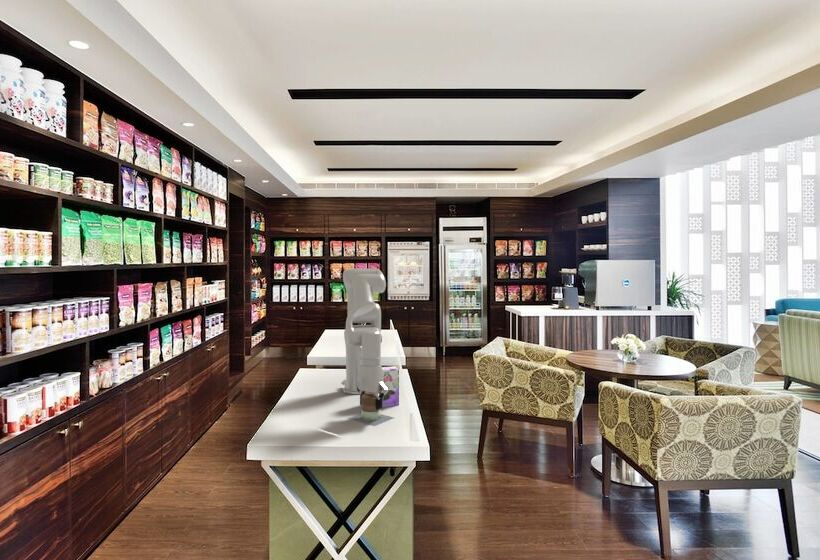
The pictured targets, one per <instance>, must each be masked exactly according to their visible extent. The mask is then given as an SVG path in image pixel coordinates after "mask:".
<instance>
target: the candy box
mask: <svg viewBox="0 0 820 560" xmlns="http://www.w3.org/2000/svg"><path fill="white" fill-rule="evenodd" d="M382 371H383V381H384V385H385V386H386V387H387V389H388V392H387V393H386V395H385V396H384V398H382V408H384V407H393V406H399V405H400V369H399V367H397V366H384V367H383V366H382ZM382 392H383V391H382Z"/></svg>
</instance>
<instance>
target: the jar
mask: <svg viewBox="0 0 820 560" xmlns="http://www.w3.org/2000/svg"><path fill="white" fill-rule="evenodd" d="M360 409H361V408H360ZM360 411H361V413H360V414H361V419H362V420H364V421H377V420H380V419H381V414H382V409H381V410H379V411H377V412H365V411H363V410H362V409H361V410H360Z"/></svg>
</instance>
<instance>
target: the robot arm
mask: <svg viewBox="0 0 820 560" xmlns="http://www.w3.org/2000/svg"><path fill="white" fill-rule="evenodd" d="M342 280H343V284H344V287H345V291H346V293H347V308H346V309H347V317H346V319H345V320H346V321H345V328H344V331H343V336H344V344H345V368H346V369H345V379H343V380H342V381H341V383H340V384H341V385H343V386H344V387H343V388H342V392H343V393H345V394H348V395H359V405H360V406H361V396H362V394H363V393H366V392H370V393H375V395H376V397H377V399H376V409H377V410H378V409H381V410H382V408H383V407H382V398H384V396H385V395H386V393H387V392H388V389H387V387H386V386H385V385H384V381H383V371H382V367H383V366H382V365H381V364H382V363H381V362H382V355H381V353H382V340H383V339H382V338H383V336H382V334H383V333H382V310H381V306H380V304H378V303H377V302H375V296H374V294H382V293H385V290H386V287H387V282H386V278H385V276H384V274H383V272H382V271H381V270H380V269H378V268H362V267H361V268H358V267H357V268H348V269H345V270H344V271H343V273H342ZM365 323H367V324H365ZM369 323H370V324H369ZM355 324H357V325H355ZM362 324H363V325H362ZM382 391H383V392H382ZM379 394H380V395H379Z"/></svg>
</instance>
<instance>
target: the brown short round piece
mask: <svg viewBox="0 0 820 560" xmlns="http://www.w3.org/2000/svg"><path fill="white" fill-rule="evenodd" d="M379 395H380V394H379ZM376 399H377V397H376V395H375V393H370V392H366V393H363V394H362V396H361V405H360V409H362V410H363V411H365V412H377V411H379V410H381V411H382V408H381V409H378V410H377V409H376Z"/></svg>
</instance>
